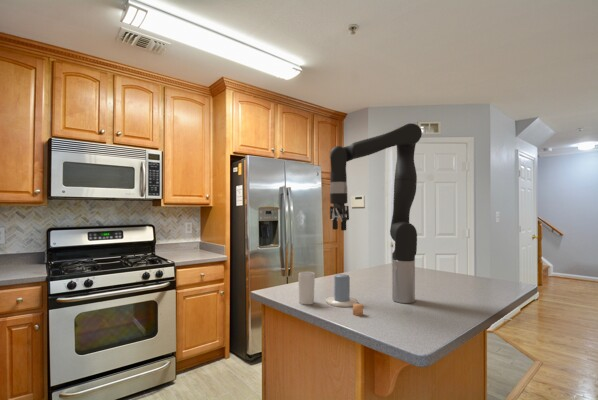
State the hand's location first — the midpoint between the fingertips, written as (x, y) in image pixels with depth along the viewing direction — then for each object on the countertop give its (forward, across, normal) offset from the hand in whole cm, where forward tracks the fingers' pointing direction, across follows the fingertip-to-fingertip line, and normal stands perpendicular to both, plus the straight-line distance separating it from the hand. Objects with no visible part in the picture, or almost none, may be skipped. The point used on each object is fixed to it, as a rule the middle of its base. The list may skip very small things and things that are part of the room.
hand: (339, 229), depth 142 cm
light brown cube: (+30, -21, +3) cm, 37 cm away
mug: (+30, 0, +16) cm, 34 cm away
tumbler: (+29, -6, +2) cm, 29 cm away
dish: (+30, -6, +2) cm, 30 cm away
